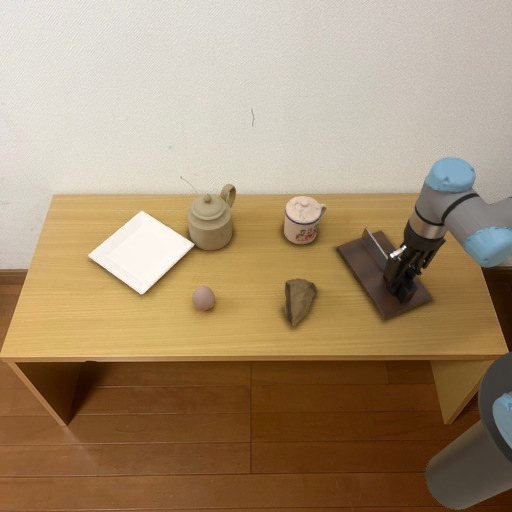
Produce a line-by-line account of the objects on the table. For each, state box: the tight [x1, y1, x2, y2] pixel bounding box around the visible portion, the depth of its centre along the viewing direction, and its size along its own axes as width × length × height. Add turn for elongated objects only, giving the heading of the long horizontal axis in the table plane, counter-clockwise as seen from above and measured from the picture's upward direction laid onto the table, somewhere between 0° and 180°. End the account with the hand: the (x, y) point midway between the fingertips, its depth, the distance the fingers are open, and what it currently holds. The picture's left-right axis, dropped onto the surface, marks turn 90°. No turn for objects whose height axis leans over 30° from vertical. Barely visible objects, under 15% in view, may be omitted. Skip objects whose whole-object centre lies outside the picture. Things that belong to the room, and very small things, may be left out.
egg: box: [191, 285, 216, 311], centre depth 109 cm, size 5×5×7 cm
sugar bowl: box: [186, 183, 237, 251], centre depth 119 cm, size 15×11×15 cm
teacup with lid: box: [283, 195, 327, 245], centre depth 121 cm, size 12×9×12 cm
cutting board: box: [336, 230, 433, 321], centre depth 117 cm, size 22×13×2 cm, turn 24°
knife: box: [360, 226, 418, 304], centre depth 114 cm, size 20×3×6 cm, turn 24°
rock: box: [284, 277, 318, 327], centre depth 109 cm, size 11×9×10 cm
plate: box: [87, 210, 195, 295], centre depth 119 cm, size 19×19×2 cm
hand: (396, 288), depth 113 cm, fingers closed on knife, 3 cm apart
